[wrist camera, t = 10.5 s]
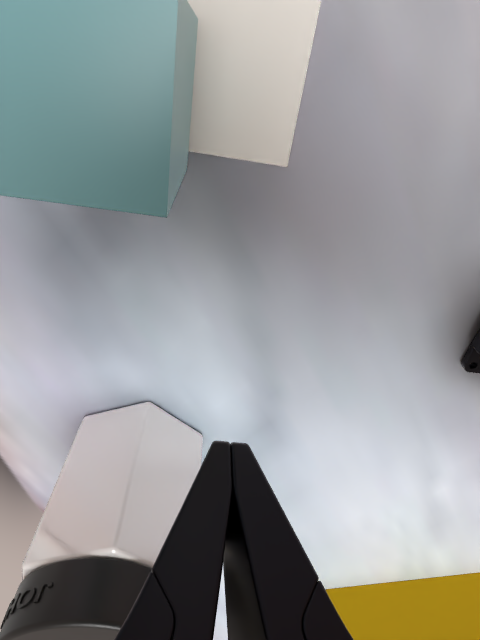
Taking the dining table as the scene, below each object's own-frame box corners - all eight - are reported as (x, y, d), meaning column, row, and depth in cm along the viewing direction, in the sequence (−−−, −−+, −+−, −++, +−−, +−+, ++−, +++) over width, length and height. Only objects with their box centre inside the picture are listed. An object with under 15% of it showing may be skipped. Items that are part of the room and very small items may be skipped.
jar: (82, 388, 25) (-20, 611, 15) (212, 410, 26) (201, 629, 16) (76, 479, 29) (-5, 697, 19) (187, 493, 31) (166, 706, 20)
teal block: (198, 19, 14) (178, -14, 9) (187, 169, 17) (166, 217, 12) (48, -9, 14) (-74, -62, 8) (61, 150, 17) (-25, 191, 11)
